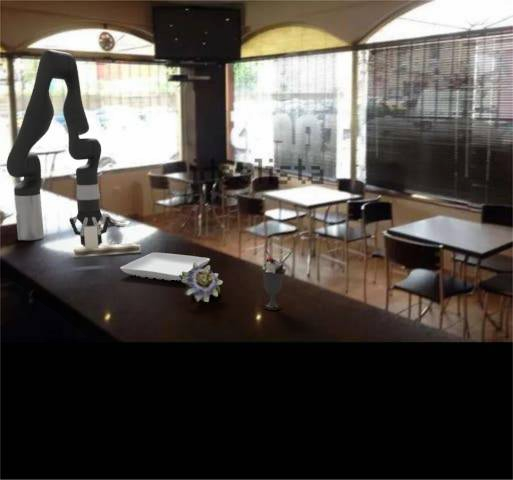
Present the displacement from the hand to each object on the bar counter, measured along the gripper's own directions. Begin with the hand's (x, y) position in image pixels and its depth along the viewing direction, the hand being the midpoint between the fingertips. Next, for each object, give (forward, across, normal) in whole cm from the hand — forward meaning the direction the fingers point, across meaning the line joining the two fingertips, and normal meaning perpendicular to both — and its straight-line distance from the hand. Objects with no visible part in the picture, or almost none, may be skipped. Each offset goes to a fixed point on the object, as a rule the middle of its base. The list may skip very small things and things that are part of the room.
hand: (91, 245), depth 200 cm
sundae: (+3, -41, +72) cm, 83 cm away
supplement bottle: (+3, -2, -19) cm, 19 cm away
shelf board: (+3, -5, +1) cm, 6 cm away
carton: (+2, 0, 0) cm, 2 cm away
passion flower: (+3, -25, +59) cm, 64 cm away
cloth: (+4, -9, -50) cm, 51 cm away
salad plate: (+3, -21, +31) cm, 38 cm away
